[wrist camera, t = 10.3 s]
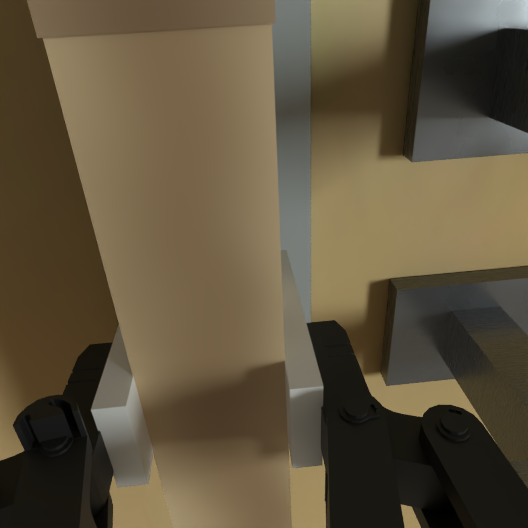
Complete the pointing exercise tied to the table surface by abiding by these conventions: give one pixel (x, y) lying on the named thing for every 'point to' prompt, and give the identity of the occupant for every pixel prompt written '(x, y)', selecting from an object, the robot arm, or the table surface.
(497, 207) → the table surface
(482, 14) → the post near
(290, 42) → the mat
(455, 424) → the robot arm
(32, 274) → the table surface
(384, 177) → the table surface
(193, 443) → the rail
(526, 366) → the post far
